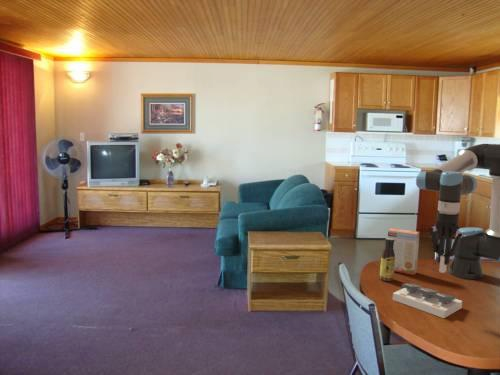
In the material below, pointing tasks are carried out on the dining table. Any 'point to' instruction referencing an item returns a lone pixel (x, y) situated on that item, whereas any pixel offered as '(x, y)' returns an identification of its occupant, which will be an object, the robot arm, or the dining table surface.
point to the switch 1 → (411, 286)
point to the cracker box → (405, 250)
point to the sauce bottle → (387, 261)
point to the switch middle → (427, 291)
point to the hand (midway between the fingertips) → (442, 271)
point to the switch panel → (427, 302)
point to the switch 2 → (444, 297)
